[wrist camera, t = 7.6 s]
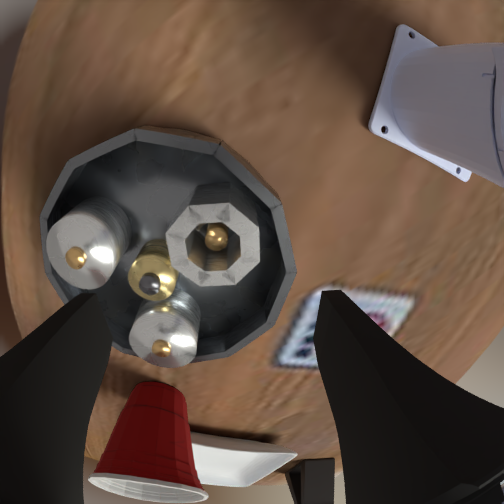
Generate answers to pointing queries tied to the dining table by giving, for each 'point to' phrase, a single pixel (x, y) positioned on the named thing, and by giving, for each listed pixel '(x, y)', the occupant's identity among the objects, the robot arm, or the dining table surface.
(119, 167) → the carrier
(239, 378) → the dining table surface
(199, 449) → the salad plate
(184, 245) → the octagonal tube
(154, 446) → the plastic cup
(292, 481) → the phone stand
